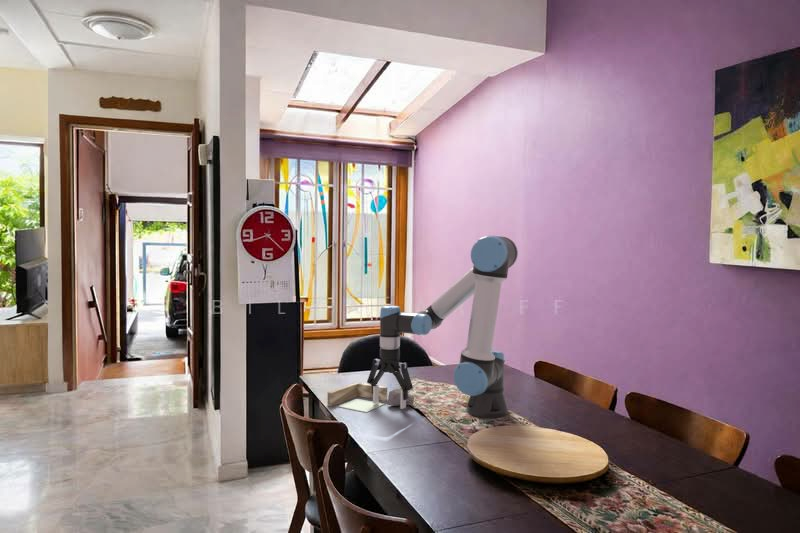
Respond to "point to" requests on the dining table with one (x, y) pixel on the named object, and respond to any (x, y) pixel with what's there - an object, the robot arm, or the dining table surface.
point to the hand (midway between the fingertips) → (389, 405)
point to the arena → (354, 393)
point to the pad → (361, 405)
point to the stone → (398, 398)
